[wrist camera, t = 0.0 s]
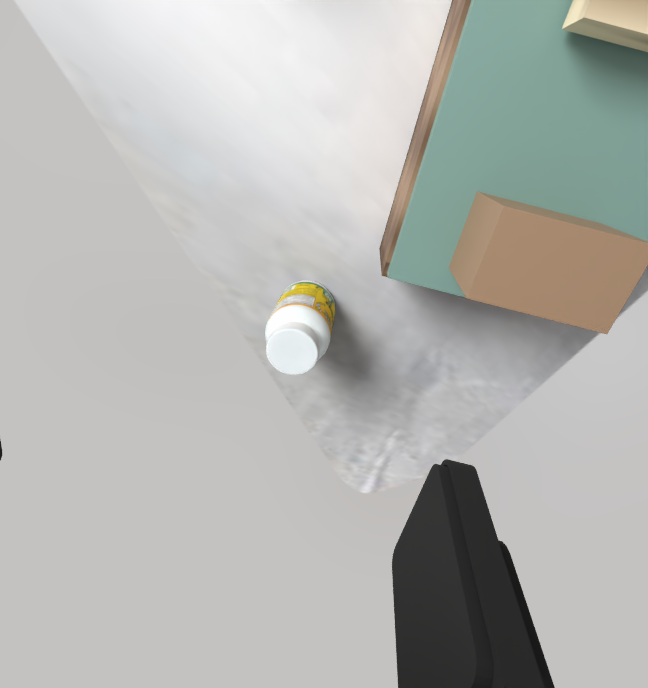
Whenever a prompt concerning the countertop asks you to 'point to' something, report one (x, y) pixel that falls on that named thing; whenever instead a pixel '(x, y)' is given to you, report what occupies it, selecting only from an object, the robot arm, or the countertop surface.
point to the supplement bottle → (300, 327)
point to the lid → (533, 170)
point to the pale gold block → (611, 21)
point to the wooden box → (423, 127)
